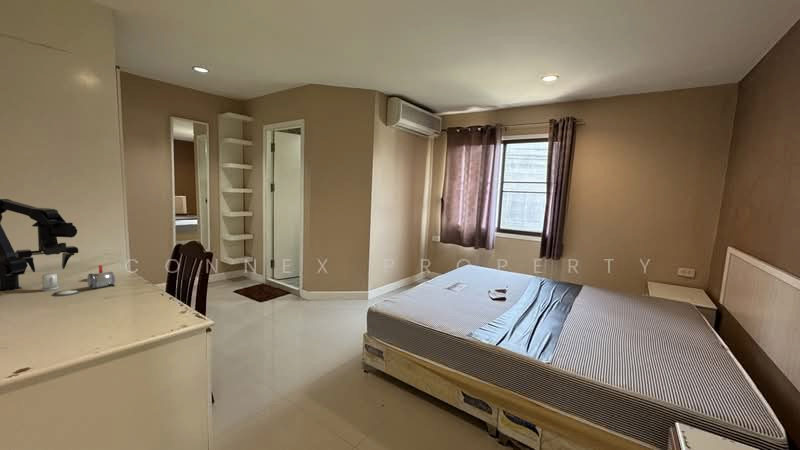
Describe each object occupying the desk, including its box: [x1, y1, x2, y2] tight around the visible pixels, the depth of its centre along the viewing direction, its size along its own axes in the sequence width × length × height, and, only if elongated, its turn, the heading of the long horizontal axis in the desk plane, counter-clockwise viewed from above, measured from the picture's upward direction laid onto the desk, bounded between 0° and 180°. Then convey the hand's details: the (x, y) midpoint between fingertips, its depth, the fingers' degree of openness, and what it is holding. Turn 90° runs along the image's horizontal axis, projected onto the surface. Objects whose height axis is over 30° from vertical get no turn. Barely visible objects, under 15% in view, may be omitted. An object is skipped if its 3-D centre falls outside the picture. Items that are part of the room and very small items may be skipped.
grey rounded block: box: [87, 271, 116, 290], centre depth 152 cm, size 8×8×7 cm
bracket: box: [98, 264, 103, 273], centre depth 161 cm, size 12×4×8 cm, turn 45°
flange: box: [52, 288, 83, 297], centre depth 143 cm, size 9×9×1 cm
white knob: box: [41, 273, 60, 292], centre depth 146 cm, size 6×5×7 cm
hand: (49, 270), depth 146 cm, fingers open, 9 cm apart
